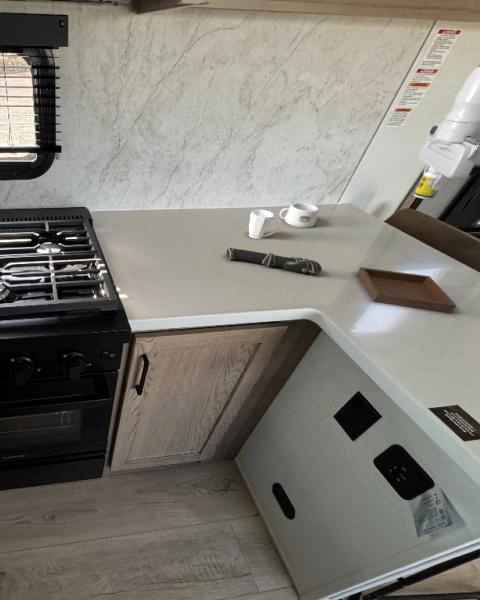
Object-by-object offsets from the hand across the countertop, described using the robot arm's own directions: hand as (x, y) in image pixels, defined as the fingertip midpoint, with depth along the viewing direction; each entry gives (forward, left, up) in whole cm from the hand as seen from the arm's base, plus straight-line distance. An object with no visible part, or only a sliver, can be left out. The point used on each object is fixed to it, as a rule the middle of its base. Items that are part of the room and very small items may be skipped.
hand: (429, 185), depth 98 cm
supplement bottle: (0, 0, -3) cm, 3 cm away
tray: (+9, +30, -19) cm, 37 cm away
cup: (+40, +5, -19) cm, 45 cm away
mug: (+27, -11, -19) cm, 35 cm away
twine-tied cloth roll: (+39, +25, -19) cm, 50 cm away
